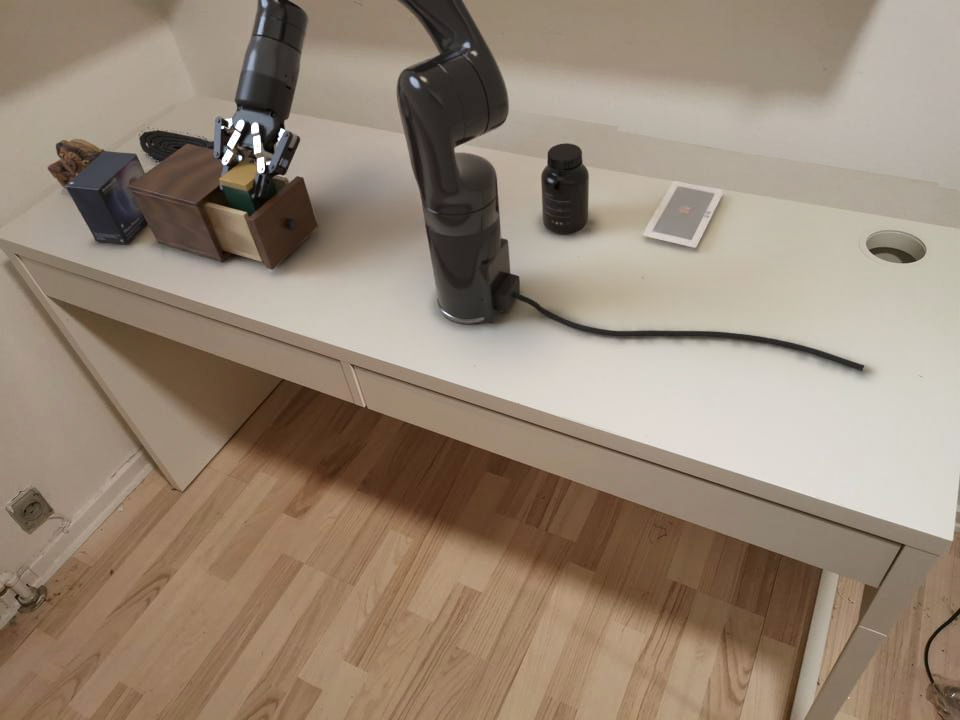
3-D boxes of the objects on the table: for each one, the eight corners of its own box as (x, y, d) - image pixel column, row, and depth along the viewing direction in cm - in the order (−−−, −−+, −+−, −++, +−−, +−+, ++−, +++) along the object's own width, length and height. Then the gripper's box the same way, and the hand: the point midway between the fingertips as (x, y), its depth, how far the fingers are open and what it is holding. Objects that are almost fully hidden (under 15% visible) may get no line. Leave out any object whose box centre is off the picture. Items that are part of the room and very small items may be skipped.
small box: (129, 246, 111) (98, 189, 104) (94, 242, 113) (61, 186, 105) (164, 207, 118) (137, 151, 111) (131, 205, 120) (102, 149, 112)
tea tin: (282, 208, 105) (268, 166, 100) (261, 226, 102) (245, 185, 97) (256, 201, 107) (241, 160, 102) (235, 219, 104) (218, 178, 99)
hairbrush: (251, 156, 122) (126, 141, 127) (256, 174, 125) (134, 159, 130) (272, 132, 127) (152, 118, 132) (277, 150, 130) (159, 136, 135)
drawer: (324, 228, 109) (309, 178, 102) (279, 272, 102) (260, 222, 96) (256, 210, 114) (238, 162, 107) (208, 251, 107) (186, 202, 101)
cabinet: (273, 216, 114) (253, 158, 106) (222, 262, 106) (195, 203, 99) (211, 200, 119) (187, 143, 111) (157, 243, 111) (127, 185, 104)
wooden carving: (53, 197, 124) (21, 146, 116) (71, 183, 126) (42, 132, 119) (126, 209, 119) (98, 157, 112) (144, 195, 122) (117, 142, 114)
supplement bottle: (552, 206, 109) (551, 135, 101) (594, 214, 107) (597, 142, 98) (535, 231, 105) (533, 160, 96) (578, 240, 103) (580, 168, 94)
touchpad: (640, 241, 101) (642, 229, 100) (672, 186, 110) (674, 174, 108) (694, 254, 98) (696, 241, 97) (722, 196, 107) (725, 184, 106)
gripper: (211, 61, 98) (184, 181, 99) (292, 75, 92) (263, 201, 94) (248, 81, 105) (222, 193, 106) (325, 95, 99) (297, 212, 101)
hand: (241, 196), depth 100 cm, fingers closed on tea tin, 5 cm apart
